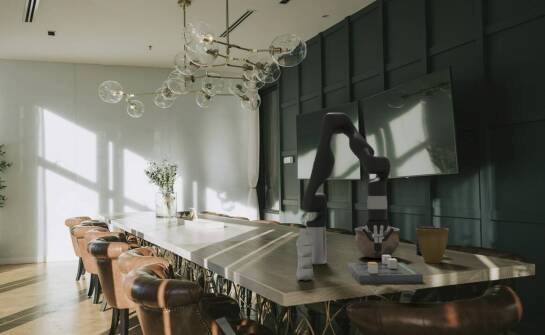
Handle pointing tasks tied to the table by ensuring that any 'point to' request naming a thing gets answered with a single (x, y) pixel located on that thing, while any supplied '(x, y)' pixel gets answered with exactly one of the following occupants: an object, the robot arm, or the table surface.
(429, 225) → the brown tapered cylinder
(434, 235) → the plant pot
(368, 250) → the ceramic bowl
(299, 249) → the plastic bottle
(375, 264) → the block
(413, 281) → the breaker panel
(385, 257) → the breaker back
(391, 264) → the block
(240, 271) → the table surface
